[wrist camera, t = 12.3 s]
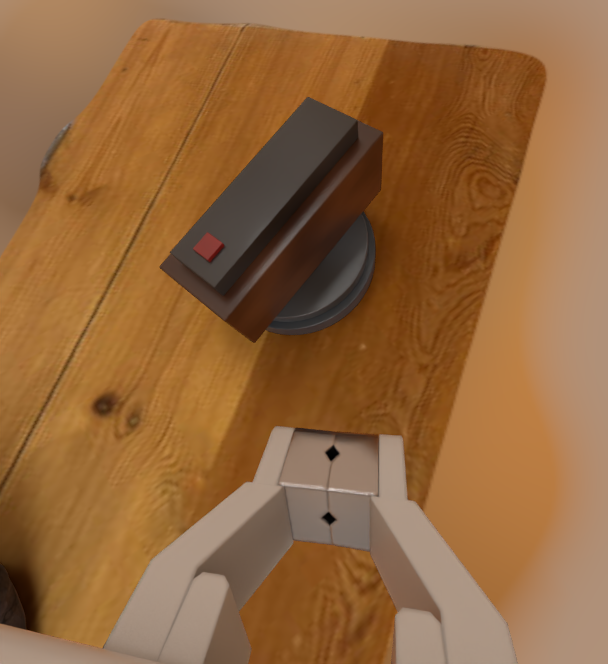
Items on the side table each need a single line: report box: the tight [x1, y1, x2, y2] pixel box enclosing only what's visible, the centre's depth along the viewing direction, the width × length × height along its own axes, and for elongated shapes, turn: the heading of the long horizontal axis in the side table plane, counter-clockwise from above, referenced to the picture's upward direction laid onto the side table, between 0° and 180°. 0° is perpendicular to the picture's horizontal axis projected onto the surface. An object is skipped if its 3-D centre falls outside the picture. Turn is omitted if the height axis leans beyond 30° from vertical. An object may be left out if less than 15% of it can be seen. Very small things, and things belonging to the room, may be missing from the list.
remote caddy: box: [160, 97, 383, 343], centre depth 22 cm, size 14×11×8 cm
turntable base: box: [266, 212, 375, 335], centre depth 26 cm, size 12×12×2 cm
